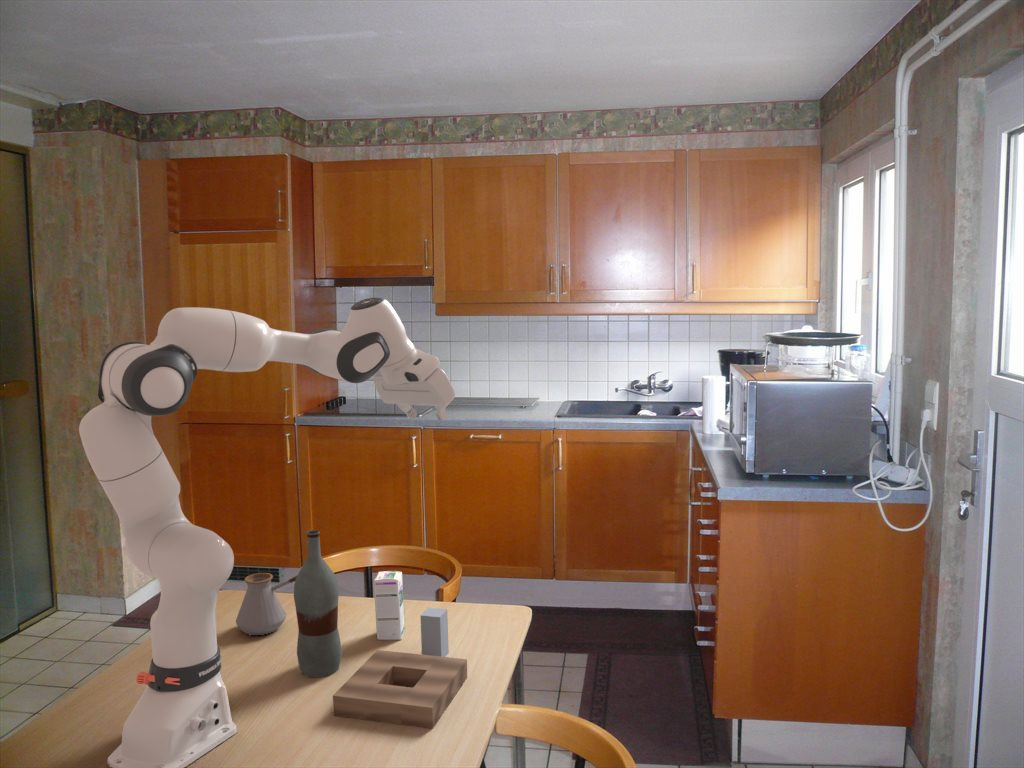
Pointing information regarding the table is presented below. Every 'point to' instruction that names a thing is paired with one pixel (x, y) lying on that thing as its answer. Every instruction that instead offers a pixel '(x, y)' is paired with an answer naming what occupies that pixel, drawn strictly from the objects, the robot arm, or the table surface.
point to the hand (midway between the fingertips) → (428, 417)
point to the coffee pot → (261, 606)
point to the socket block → (401, 688)
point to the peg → (434, 632)
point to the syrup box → (389, 605)
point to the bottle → (317, 613)
